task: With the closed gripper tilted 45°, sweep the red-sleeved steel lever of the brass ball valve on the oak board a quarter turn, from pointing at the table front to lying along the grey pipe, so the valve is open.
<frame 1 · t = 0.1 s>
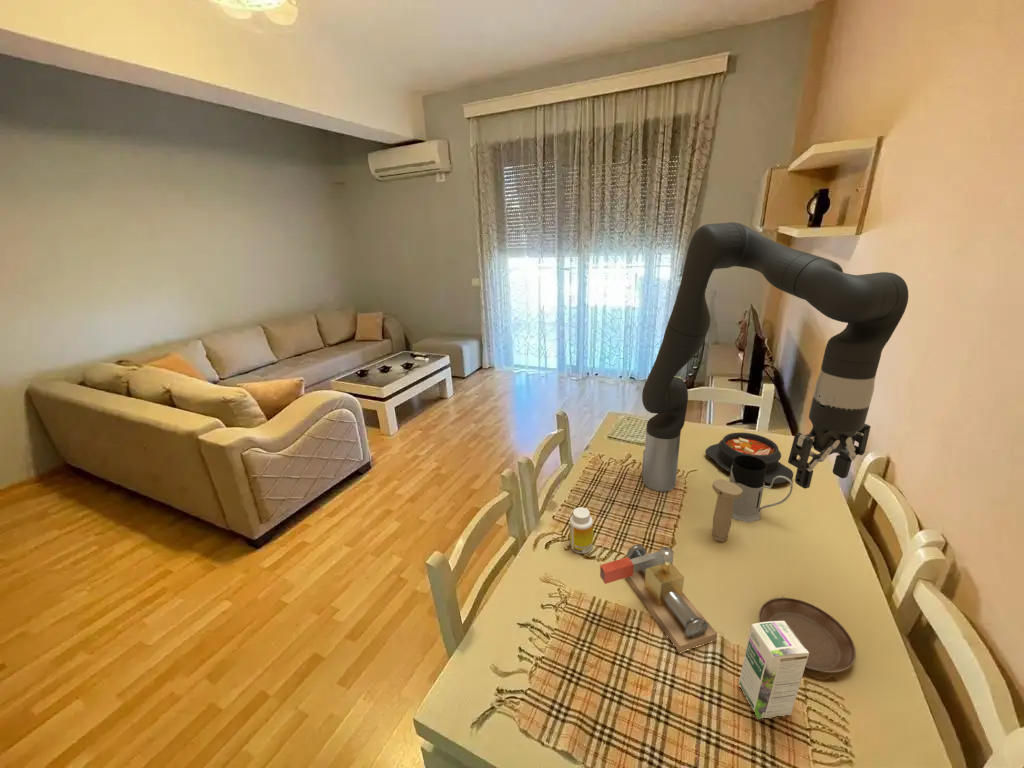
hand: (820, 480, 75), 29 cm above the table, tool pointing down, fingers open, 8 cm apart
supplement bottle: (581, 547, 104), on the table
brass ball valve: (664, 578, 86), point 6 cm above the table
glass holder: (752, 515, 111), on the table
saucer: (802, 642, 78), on the table
handle: (719, 538, 104), on the table
syrup box: (763, 700, 69), on the table
valve lever: (638, 564, 82), point 12 cm above the table, hinge at 0.0°
casserole: (745, 467, 132), on the table
oak base board: (661, 600, 88), on the table
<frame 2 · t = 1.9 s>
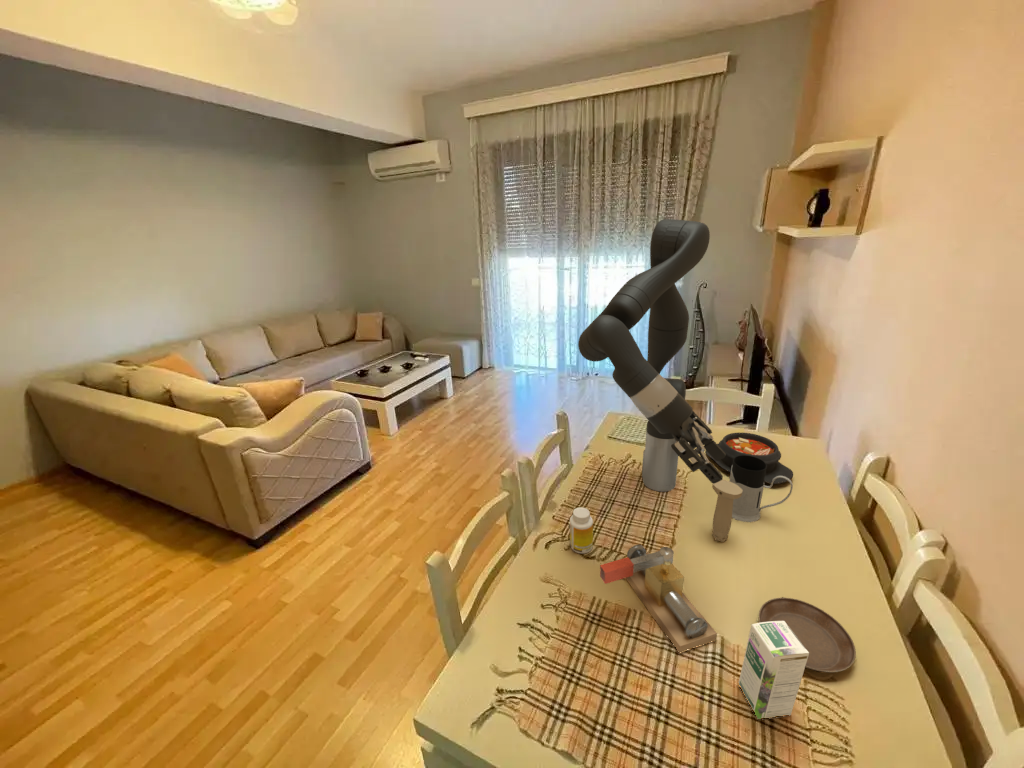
hand: (720, 468, 78), 31 cm above the table, tool tilted 45°, fingers open, 8 cm apart
nothing on the table moved.
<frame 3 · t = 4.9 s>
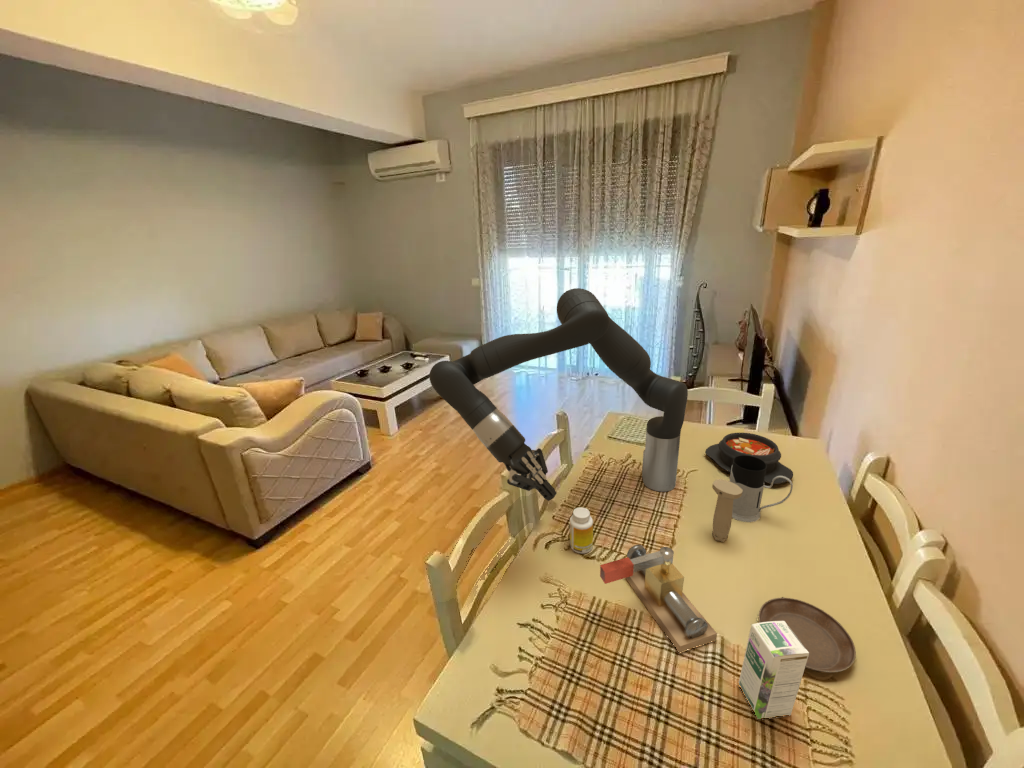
hand: (552, 497, 89), 21 cm above the table, tool tilted 45°, fingers closed
nothing on the table moved.
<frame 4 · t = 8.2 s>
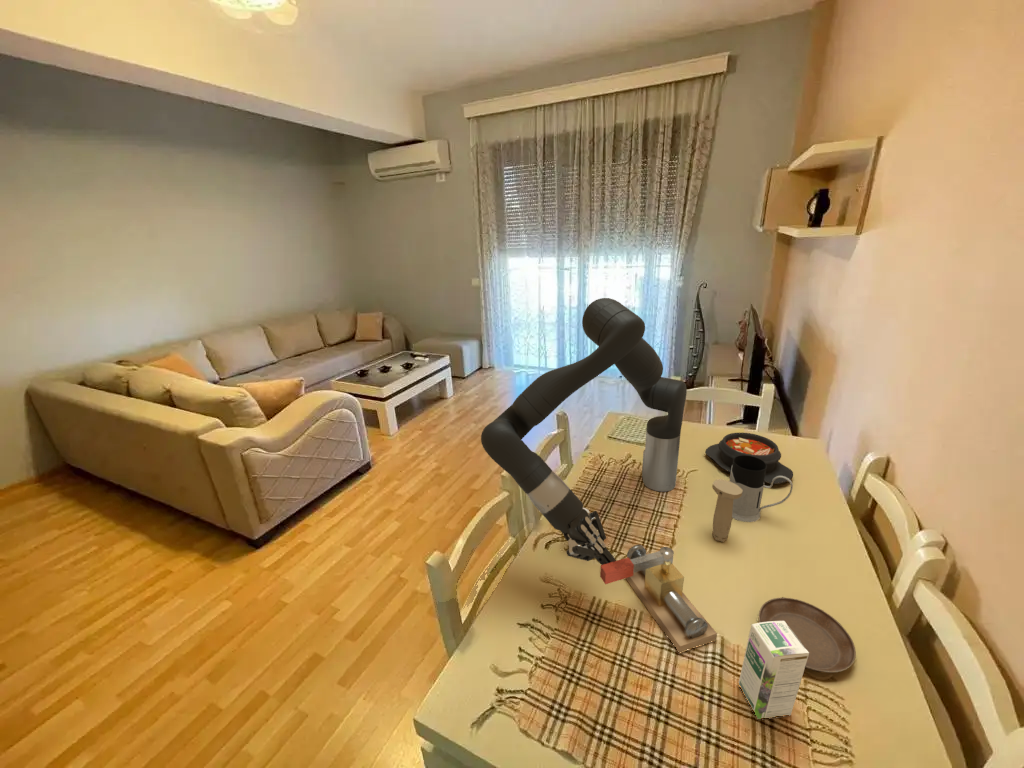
hand: (612, 566, 83), 11 cm above the table, tool tilted 45°, fingers closed
valve lever: (638, 564, 82), point 12 cm above the table, hinge at 0.5°, touching gripper
everything else where it was.
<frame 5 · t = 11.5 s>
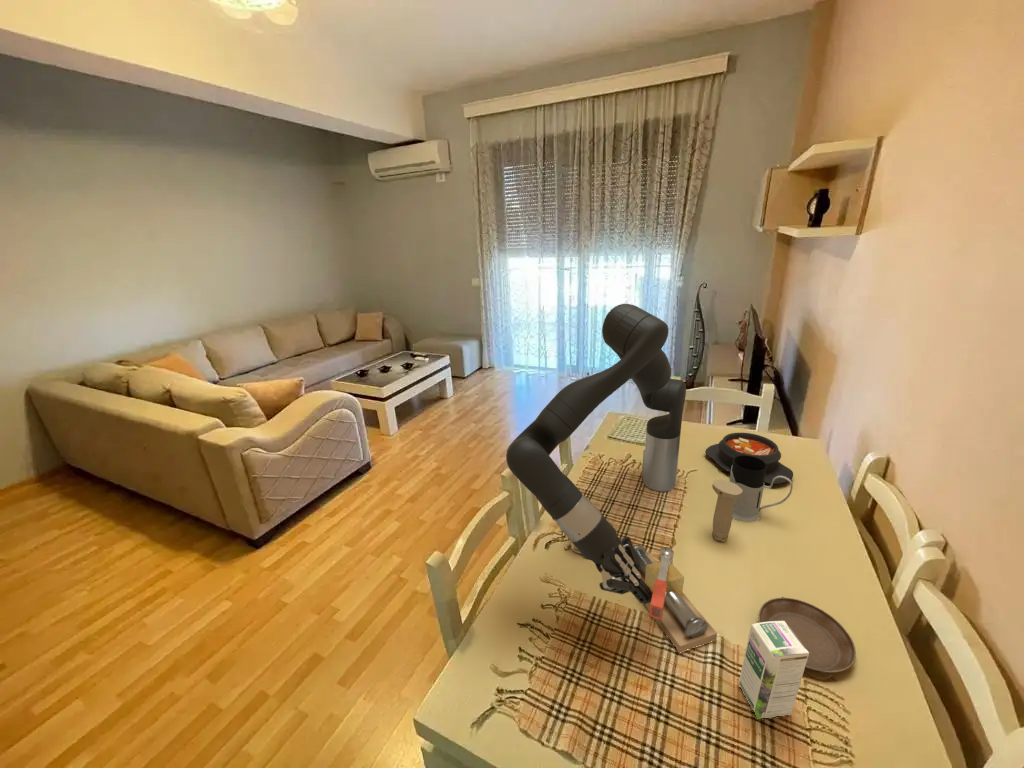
hand: (648, 599, 76), 11 cm above the table, tool tilted 45°, fingers closed
valve lever: (661, 579, 78), point 12 cm above the table, hinge at 48.0°, touching gripper
everything else where it was.
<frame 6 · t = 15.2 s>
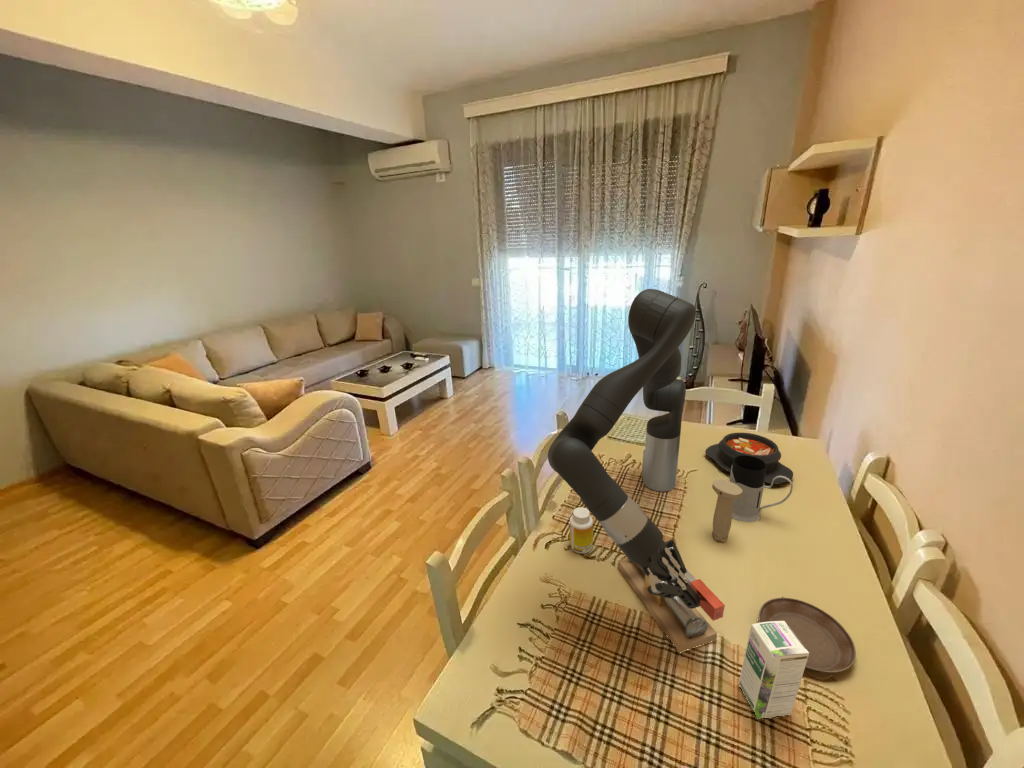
hand: (695, 604, 74), 11 cm above the table, tool tilted 45°, fingers closed
valve lever: (688, 579, 78), point 12 cm above the table, hinge at 91.6°, touching gripper
everything else where it was.
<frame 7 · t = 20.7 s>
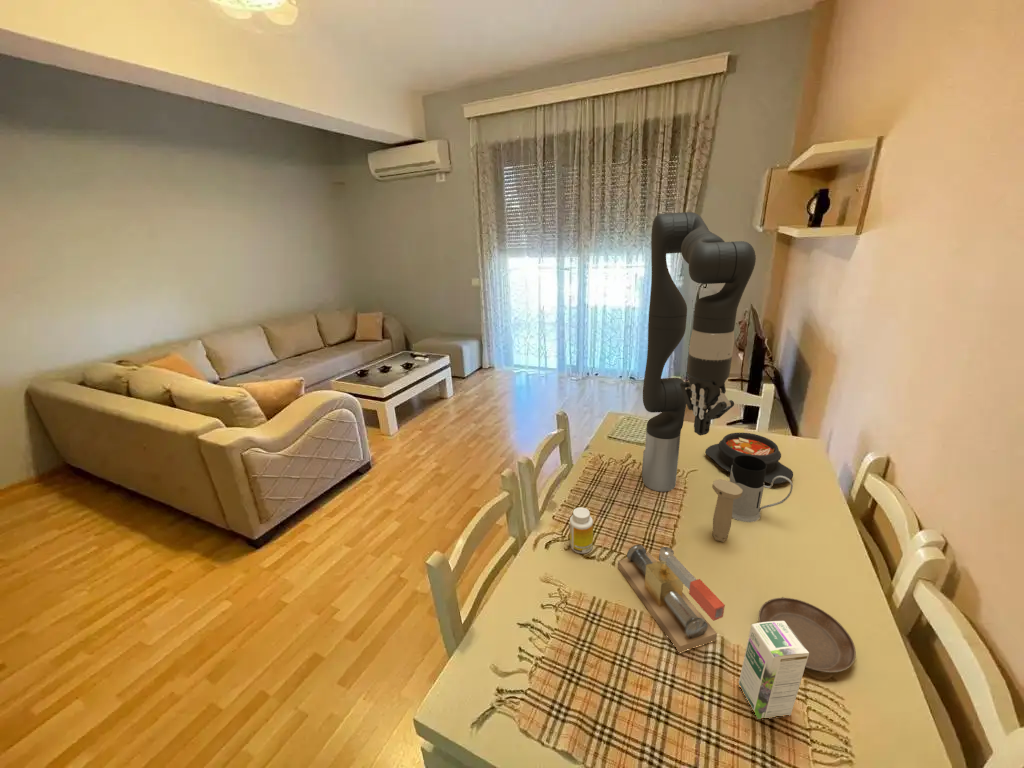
hand: (700, 433, 86), 33 cm above the table, tool pointing down, fingers closed
valve lever: (688, 579, 78), point 12 cm above the table, hinge at 91.7°
everything else where it was.
at the end: valve lever at +92° (first picture: +0°) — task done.
